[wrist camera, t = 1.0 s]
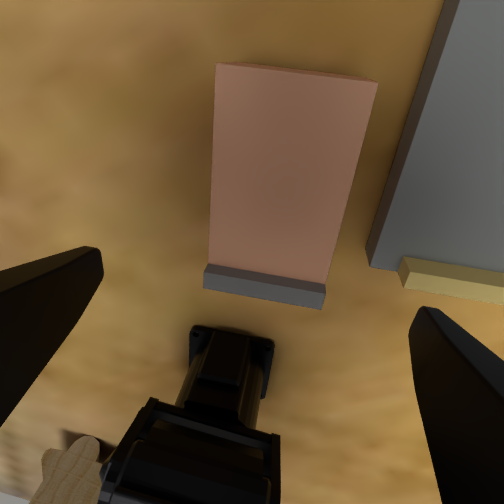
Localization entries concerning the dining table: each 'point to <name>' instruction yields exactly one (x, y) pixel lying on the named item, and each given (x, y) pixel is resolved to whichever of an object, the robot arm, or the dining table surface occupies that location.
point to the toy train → (71, 474)
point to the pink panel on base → (281, 177)
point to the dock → (450, 165)
